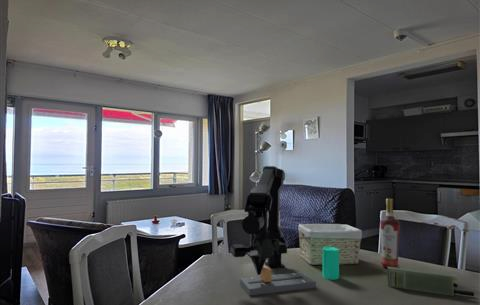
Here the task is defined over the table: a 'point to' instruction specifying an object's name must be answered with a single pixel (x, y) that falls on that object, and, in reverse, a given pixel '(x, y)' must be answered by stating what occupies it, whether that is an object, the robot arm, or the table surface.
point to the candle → (330, 263)
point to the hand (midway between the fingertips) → (258, 274)
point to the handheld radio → (424, 281)
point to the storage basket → (329, 242)
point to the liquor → (389, 237)
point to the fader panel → (277, 283)
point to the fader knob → (266, 274)
